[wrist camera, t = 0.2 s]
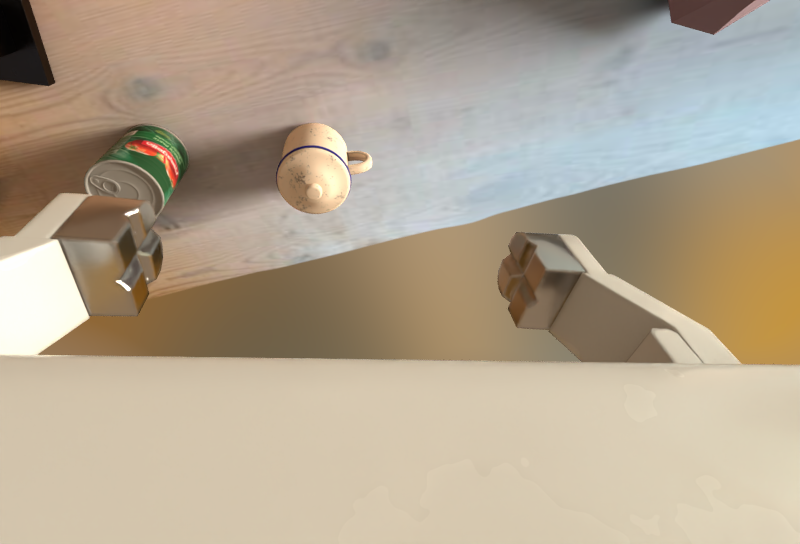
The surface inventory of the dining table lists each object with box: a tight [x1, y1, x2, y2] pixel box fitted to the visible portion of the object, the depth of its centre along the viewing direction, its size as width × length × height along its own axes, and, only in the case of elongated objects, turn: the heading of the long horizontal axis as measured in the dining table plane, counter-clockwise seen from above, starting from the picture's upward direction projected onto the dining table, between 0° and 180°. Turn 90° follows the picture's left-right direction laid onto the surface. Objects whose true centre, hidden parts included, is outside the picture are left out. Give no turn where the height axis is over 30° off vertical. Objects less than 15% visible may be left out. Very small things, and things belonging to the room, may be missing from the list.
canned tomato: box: [84, 124, 189, 217], centre depth 50 cm, size 8×8×11 cm
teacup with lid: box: [276, 123, 372, 214], centre depth 53 cm, size 12×9×12 cm
